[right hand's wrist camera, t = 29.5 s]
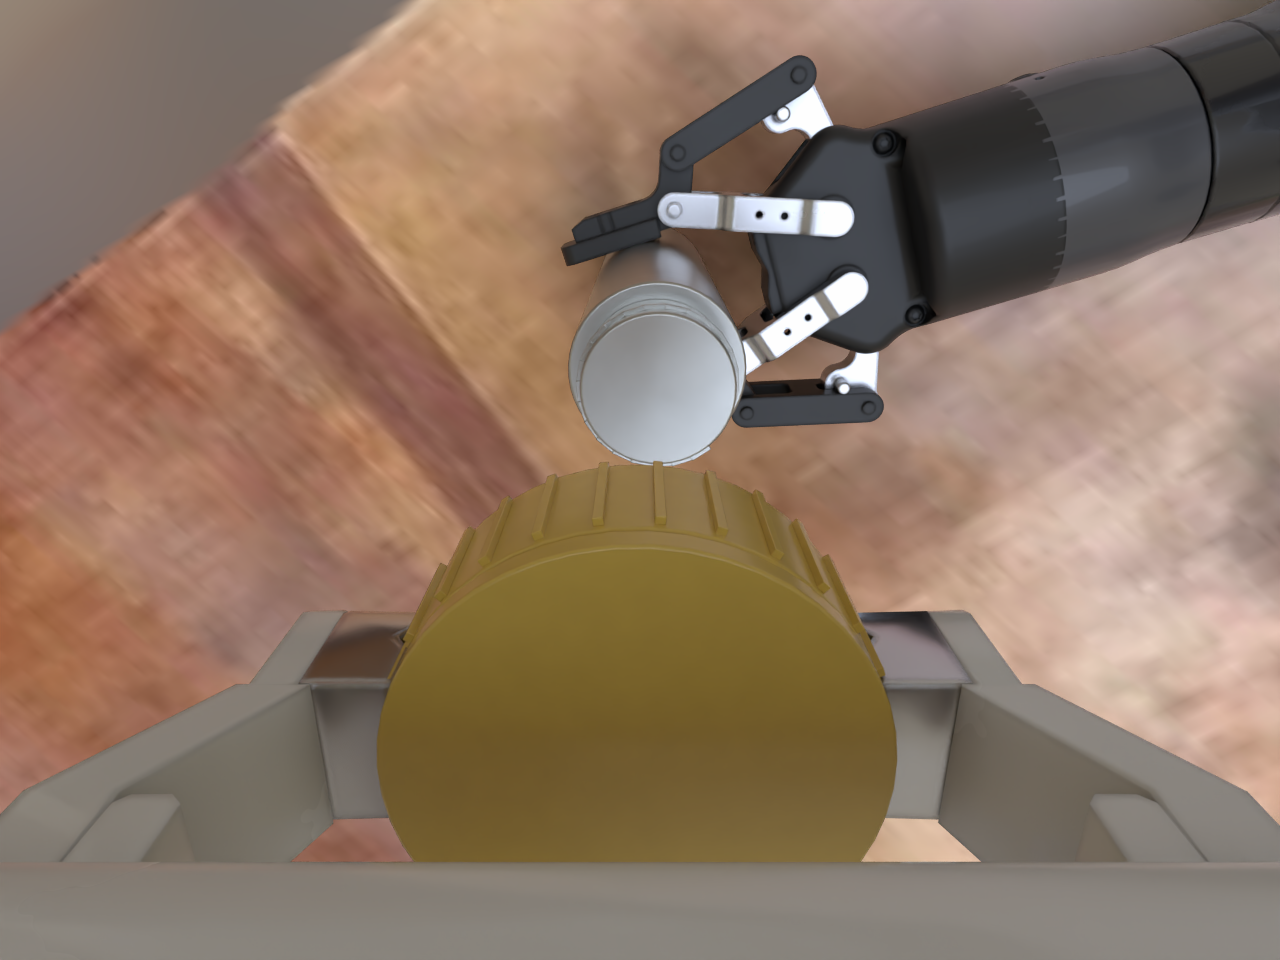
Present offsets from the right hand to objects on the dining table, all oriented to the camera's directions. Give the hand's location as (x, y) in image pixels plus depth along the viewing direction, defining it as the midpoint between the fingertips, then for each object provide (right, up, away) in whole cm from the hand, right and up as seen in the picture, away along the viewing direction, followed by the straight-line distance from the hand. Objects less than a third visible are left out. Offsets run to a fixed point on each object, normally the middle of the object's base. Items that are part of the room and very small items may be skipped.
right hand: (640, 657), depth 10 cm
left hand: (-2, +8, +22) cm, 24 cm away
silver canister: (+1, +12, +28) cm, 30 cm away
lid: (0, -1, -2) cm, 2 cm away
